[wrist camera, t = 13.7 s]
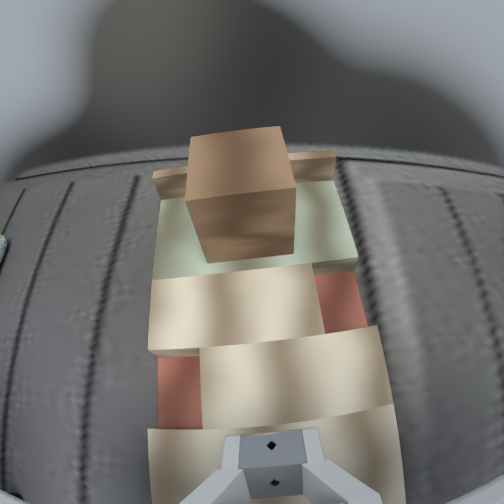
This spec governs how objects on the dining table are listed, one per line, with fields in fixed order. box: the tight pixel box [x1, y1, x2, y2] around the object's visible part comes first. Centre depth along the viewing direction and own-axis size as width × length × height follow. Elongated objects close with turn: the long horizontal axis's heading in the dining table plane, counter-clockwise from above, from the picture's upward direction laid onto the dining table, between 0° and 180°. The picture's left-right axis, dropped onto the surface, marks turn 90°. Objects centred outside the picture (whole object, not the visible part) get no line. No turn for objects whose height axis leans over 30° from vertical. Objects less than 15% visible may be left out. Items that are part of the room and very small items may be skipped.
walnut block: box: [185, 126, 296, 264], centre depth 24 cm, size 7×7×8 cm
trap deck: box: [148, 150, 406, 504], centre depth 22 cm, size 17×32×6 cm, turn 5°
